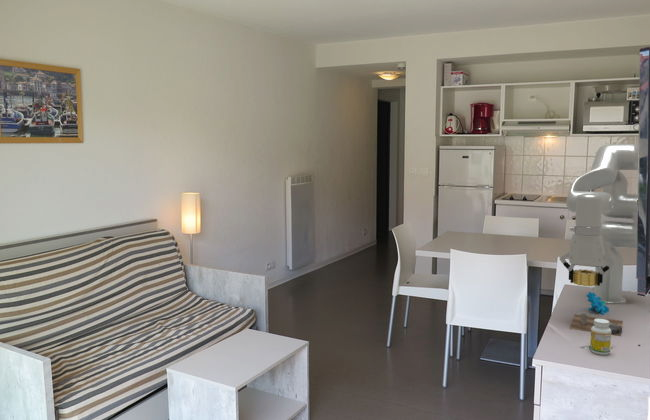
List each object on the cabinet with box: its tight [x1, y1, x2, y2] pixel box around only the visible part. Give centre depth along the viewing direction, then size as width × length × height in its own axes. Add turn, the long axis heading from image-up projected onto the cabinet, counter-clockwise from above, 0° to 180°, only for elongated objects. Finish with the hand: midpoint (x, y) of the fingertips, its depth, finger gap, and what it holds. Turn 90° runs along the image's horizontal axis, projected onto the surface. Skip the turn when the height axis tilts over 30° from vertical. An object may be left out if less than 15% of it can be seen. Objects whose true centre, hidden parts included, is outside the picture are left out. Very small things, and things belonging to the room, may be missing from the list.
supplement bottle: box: [589, 319, 612, 356], centre depth 158 cm, size 5×5×10 cm
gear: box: [586, 291, 610, 315], centre depth 195 cm, size 11×6×10 cm
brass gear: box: [572, 268, 598, 287], centre depth 177 cm, size 7×7×4 cm
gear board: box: [568, 313, 624, 337], centre depth 179 cm, size 17×15×5 cm
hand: (585, 283), depth 177 cm, fingers closed on brass gear, 7 cm apart
